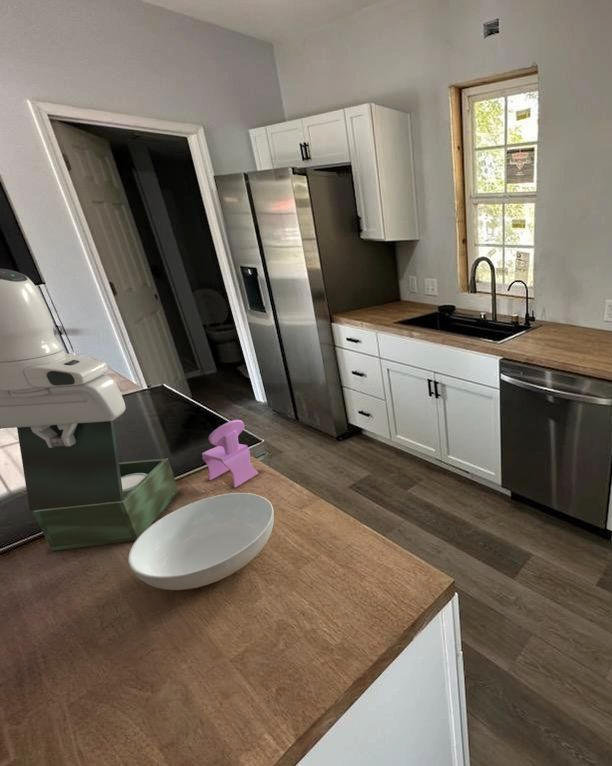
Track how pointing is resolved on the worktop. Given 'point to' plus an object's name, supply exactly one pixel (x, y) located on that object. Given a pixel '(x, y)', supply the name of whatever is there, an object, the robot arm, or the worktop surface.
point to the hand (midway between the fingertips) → (63, 445)
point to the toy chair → (229, 453)
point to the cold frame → (112, 511)
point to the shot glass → (131, 482)
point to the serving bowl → (202, 541)
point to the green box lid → (72, 467)
